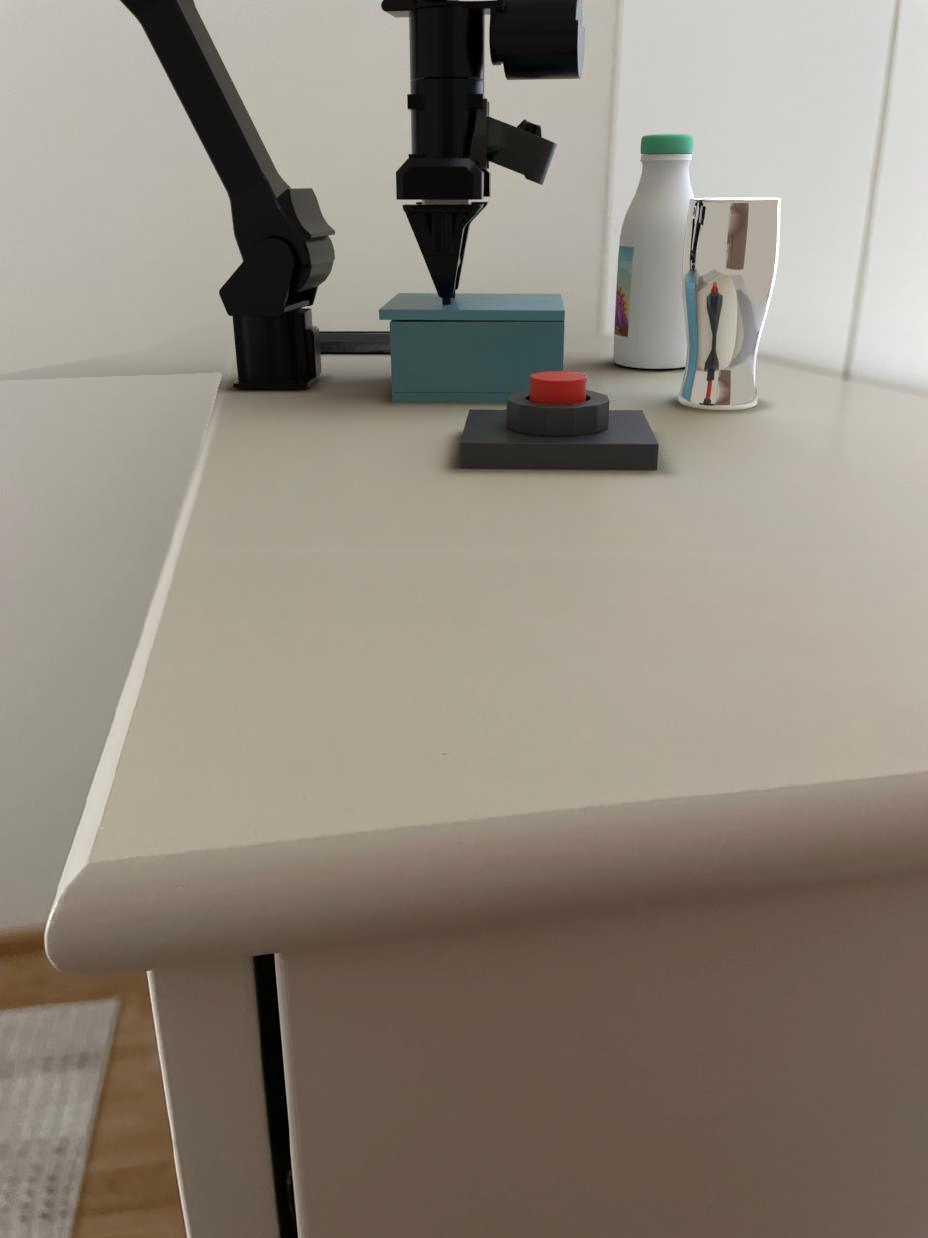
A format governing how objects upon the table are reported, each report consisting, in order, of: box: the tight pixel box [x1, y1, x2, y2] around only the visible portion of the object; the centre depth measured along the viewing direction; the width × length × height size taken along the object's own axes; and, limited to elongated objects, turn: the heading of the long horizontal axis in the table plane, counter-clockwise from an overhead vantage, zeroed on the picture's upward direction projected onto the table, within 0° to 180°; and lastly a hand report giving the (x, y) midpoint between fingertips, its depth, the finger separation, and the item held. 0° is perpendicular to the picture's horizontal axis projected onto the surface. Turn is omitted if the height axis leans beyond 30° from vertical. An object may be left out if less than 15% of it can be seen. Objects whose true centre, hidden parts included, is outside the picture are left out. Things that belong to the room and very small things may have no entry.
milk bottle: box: [613, 133, 695, 370], centre depth 96 cm, size 8×8×20 cm
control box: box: [459, 389, 660, 471], centre depth 67 cm, size 12×10×4 cm
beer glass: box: [677, 197, 782, 411], centre depth 79 cm, size 7×7×15 cm
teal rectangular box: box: [389, 320, 566, 403], centre depth 87 cm, size 14×13×6 cm
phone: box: [319, 330, 391, 353], centre depth 110 cm, size 8×1×15 cm
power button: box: [530, 370, 588, 404], centre depth 66 cm, size 4×4×2 cm
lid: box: [378, 257, 566, 322], centre depth 85 cm, size 14×13×5 cm
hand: (448, 293), depth 86 cm, fingers closed on lid, 6 cm apart
